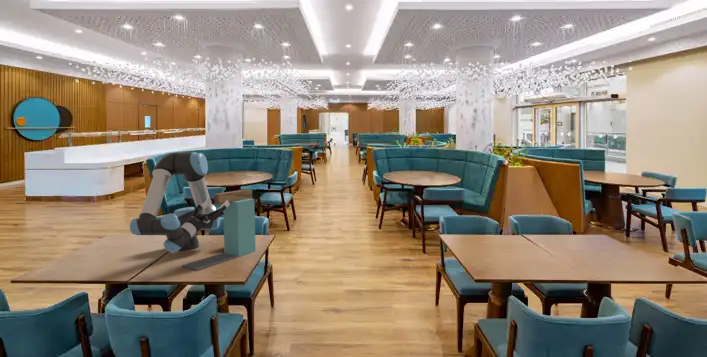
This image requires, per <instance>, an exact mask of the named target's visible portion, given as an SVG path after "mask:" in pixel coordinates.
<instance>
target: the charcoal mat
mask: <svg viewBox="0 0 707 357" xmlns="http://www.w3.org/2000/svg"><path fill="white" fill-rule="evenodd" d="M237 258H238V256H234V255H229V254H225V253H222V252H220V253H218V254H215V255H212V256H208V257H205V258H202V259H199V260H196V261H191V262H189V263H185V264H182V265H181V268H186V269H189V270H194V271H201V270H203V269H206V268H209V267H213V266H216V265H218V264H221V263H224V262H229V261H230V260H234V259H237Z"/></svg>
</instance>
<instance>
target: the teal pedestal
mask: <svg viewBox="0 0 707 357" xmlns="http://www.w3.org/2000/svg"><path fill="white" fill-rule="evenodd" d="M229 203H230V205H229V206H228V207H227V208H226V209H225V210H224V211H223V212H224V215H222V216H223V245H224V247H223V248H224V254H227V255H232V256H237V257H241V256H245V255H248V254H250V253H253V252H256V251H257V249H256V218H255V216H256V215H255V214H256V212H255V207H256V206H255V198H251V199H245V200H240V201H234V202H229Z"/></svg>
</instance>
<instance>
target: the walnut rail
mask: <svg viewBox="0 0 707 357" xmlns="http://www.w3.org/2000/svg"><path fill="white" fill-rule="evenodd" d="M213 196H214V198H213V200H214V204H215V205H222V204H223V203H225V202H226V201H227V200H228V202H234V201H240V200H245V199H253V189H250V188H245V189H238V190H233V191H226V192H221V193H219V192H218V193H215V194H214V195H213Z"/></svg>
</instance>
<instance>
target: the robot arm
mask: <svg viewBox="0 0 707 357" xmlns="http://www.w3.org/2000/svg"><path fill="white" fill-rule="evenodd" d="M208 170H209V166H208V160H207V157H206V156H205V154H204V153H202V152H171V153H168V154H166V155H164V156H163V157H162V158H160V159H159V160H158V161H157V163H156V164H155V166H154V167H153V170H152V173H151V174H152V176H153V177H152V179H151V182H150V185H149V187H148V191H147V194H146V196H145V199H144V202H143V205H142V207H141V211H140V213H139V215H138V218H137V217H136V218H133V219H132V220H131V221H130V223H129V230H130V232H131V234H132V235H137V236H143V235H144V236H146V235H147V236H150V235H151V236H152V235H154V236H155V235H156V236H157V235H159V236H163V235H164V236H166V239H165V241H164V242H163V247H164V249H165V250H166V251H167V252H169V253H171V254H176V253H178V252H179V251H186V250H187V251H188V250H193V249H194V250H195V249H197V248H199V245H200V242H199V239H198V237H197V233H198V232H199V231H202V230H203V231H206V230H207V231H211V230H213V231H214V230H217V229H219V227H220V224H221V218H222V216H223V215H224V212H223V211H224V210H225V209H226V208H227V207H228V206H229V205H230V203H229V202H228V200H227V201H226V202H225V203H223V204H220V206H219V207H218V208H217V209H216V206H215V205H214V204H212V203H213V201H212V200H211V197H210V193H209V191H208V186H207V183H206V180H205V179H206V178H205V177H206V175H207V174H208ZM173 176H182V177H183V180H185V181H186V182H187V183H188V186H189V190H190V193H191V196H192V199H193V202H194V205H195V207H194V206H188V207H183V208H182V207H181V208H178V209H175V210H174V211H173V213H167V214H164V215H162V217H161V218H157V217H158V215H159V212H160V208H161V206H162V203H163V200H164V196H165V193H166V190H167V188H168V184H169V181H171V180H172V179H173Z"/></svg>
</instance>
